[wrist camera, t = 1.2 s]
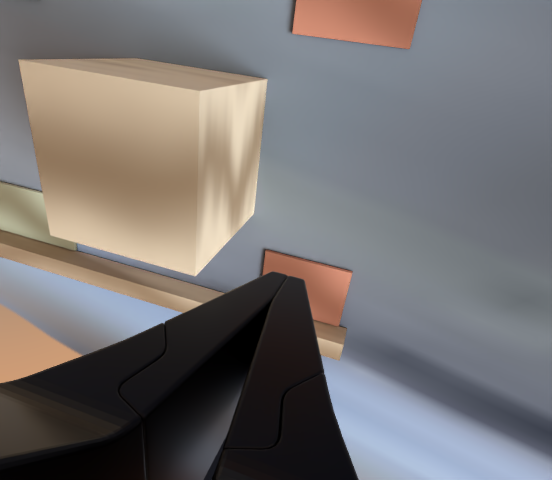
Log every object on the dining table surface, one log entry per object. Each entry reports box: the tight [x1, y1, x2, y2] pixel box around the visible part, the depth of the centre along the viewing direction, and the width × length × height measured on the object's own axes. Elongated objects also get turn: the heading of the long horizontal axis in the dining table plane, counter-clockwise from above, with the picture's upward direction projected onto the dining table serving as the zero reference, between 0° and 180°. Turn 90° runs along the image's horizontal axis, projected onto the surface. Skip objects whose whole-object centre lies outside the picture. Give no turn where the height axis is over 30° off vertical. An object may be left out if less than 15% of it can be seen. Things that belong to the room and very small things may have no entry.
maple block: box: [19, 58, 267, 276], centre depth 17 cm, size 7×7×7 cm
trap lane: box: [0, 0, 422, 360], centre depth 21 cm, size 21×32×2 cm, turn 84°
